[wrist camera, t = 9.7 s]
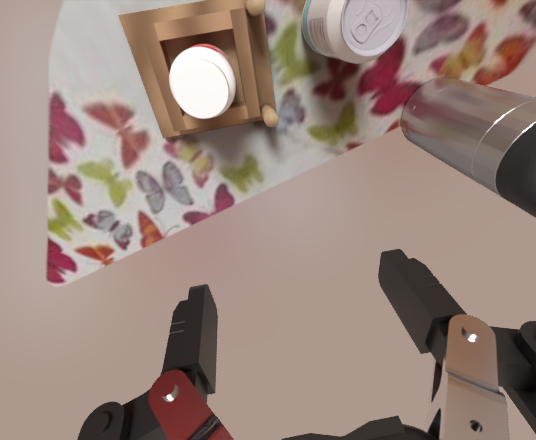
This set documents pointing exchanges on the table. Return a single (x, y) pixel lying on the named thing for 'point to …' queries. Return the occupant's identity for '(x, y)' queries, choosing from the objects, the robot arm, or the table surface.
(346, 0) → the beverage can
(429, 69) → the table surface
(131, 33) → the holder
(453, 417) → the robot arm
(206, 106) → the pill bottle
